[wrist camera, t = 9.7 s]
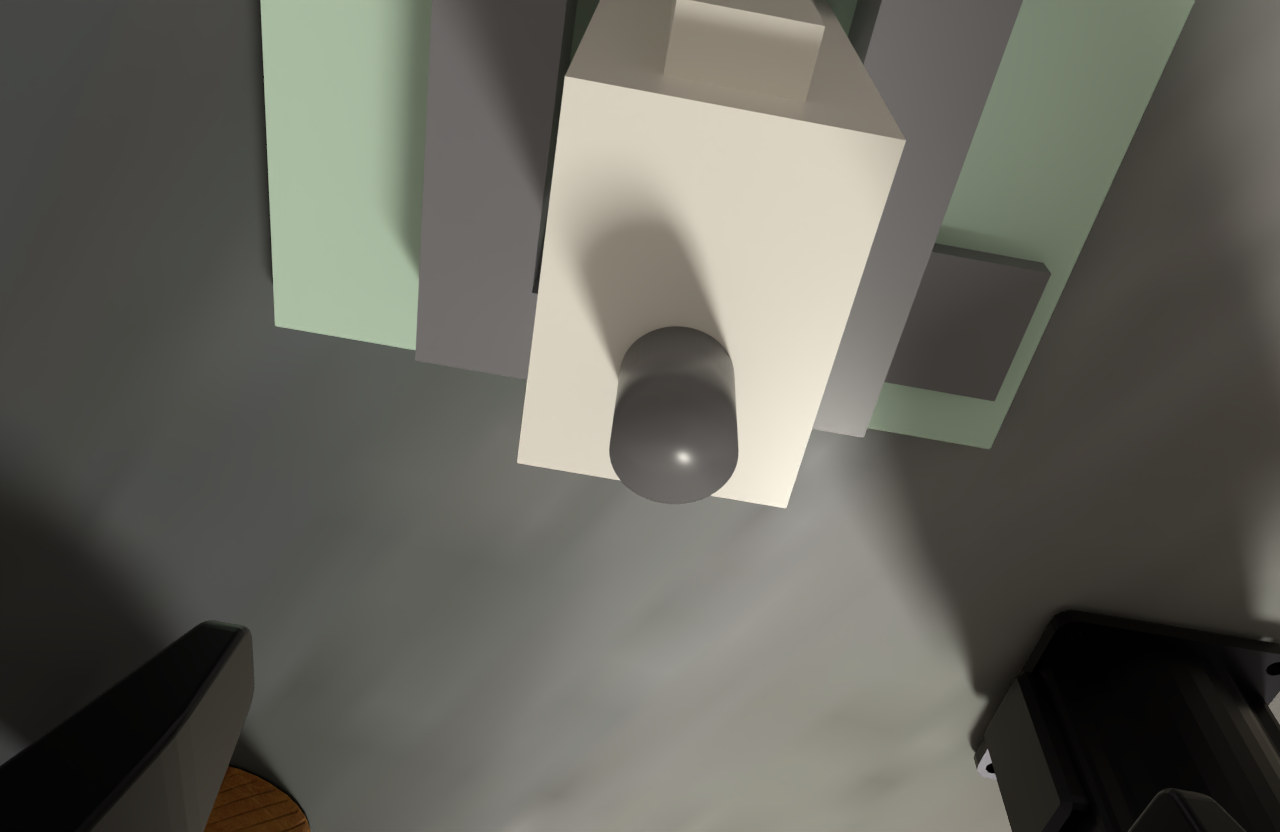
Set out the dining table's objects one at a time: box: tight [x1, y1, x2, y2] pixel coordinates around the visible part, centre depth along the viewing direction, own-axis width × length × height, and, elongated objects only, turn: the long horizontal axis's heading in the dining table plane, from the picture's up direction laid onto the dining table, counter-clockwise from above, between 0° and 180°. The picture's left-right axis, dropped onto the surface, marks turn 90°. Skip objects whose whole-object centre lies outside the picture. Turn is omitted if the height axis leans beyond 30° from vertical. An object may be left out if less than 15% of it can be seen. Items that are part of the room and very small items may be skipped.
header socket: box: [415, 0, 1023, 438], centre depth 17 cm, size 9×10×2 cm
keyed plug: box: [517, 0, 906, 508], centre depth 14 cm, size 4×6×10 cm, turn 170°
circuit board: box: [260, 0, 1195, 449], centre depth 18 cm, size 16×12×1 cm
